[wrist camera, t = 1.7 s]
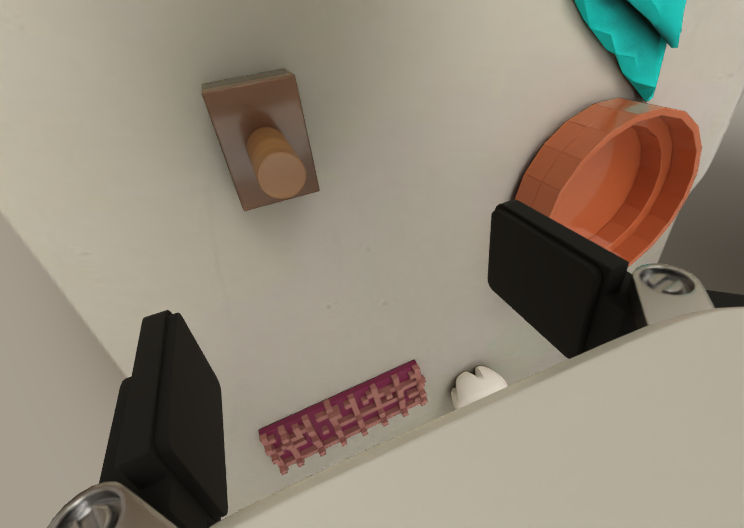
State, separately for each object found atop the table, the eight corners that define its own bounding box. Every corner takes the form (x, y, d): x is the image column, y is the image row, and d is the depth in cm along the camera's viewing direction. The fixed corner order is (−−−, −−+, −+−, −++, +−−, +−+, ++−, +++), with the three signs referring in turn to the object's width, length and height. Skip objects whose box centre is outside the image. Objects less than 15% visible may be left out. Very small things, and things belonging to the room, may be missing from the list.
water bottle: (494, 352, 48) (693, 581, 29) (490, 387, 53) (661, 607, 33) (445, 372, 47) (620, 629, 27) (444, 406, 51) (596, 650, 31)
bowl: (517, 120, 31) (562, 135, 27) (672, 80, 35) (731, 89, 31) (500, 281, 41) (531, 309, 38) (622, 236, 45) (662, 257, 41)
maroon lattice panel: (426, 393, 48) (433, 405, 46) (281, 461, 44) (284, 477, 43) (419, 357, 43) (427, 369, 42) (258, 430, 40) (260, 446, 38)
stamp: (201, 83, 22) (201, 112, 16) (284, 68, 23) (316, 89, 17) (239, 192, 26) (252, 250, 20) (309, 175, 27) (342, 224, 21)
